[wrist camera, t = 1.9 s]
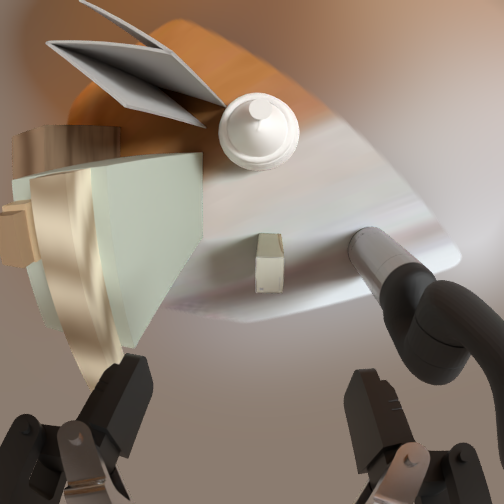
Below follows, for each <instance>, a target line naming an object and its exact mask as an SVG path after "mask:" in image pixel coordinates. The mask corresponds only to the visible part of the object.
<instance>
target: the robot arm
mask: <svg viewBox="0 0 504 504" xmlns="http://www.w3.org/2000/svg"><path fill="white" fill-rule="evenodd" d="M348 255H349V258H350V260H351V262H352V264H353V265H354V267H355V268H356V270H357V271H358V273H359V274H360V276H361V277H362V279H363V280H364V282H365V283H366V285H367V286H368V288H369V289H370V291H371V292H372V294H373V295H374V297H375V298H376V300H377V301H378V303H379V305H380V306H381V308H382V310H383V316H384V322H385V325H386V328H387V330H388V332H389V334H390V336H391V338H392V340H393V342H394V345H395V347H396V349H397V351H398V353H399V355H400V357H401V359H402V361H403V362H404V364H405V365H406V367H407V368H408V369H409V371H410V372H411V373H412V374H413V375H415V376H416V377H417V378H418V379H420V380H421V381H423V382H425V383H428V384H431V385H445V384H447V383H450V382H451V381H453V380H454V379H455V378H456V377H457V376H458V375H459V374H460V372H461V371H462V369H463V368H464V366H465V364H466V363H467V360H468V359H469V357H470V355H472V356H473V357H474V358H475V360H476V361H477V362H478V364H479V365H480V367H481V368H482V369H483V371H484V373H485V375H486V377H487V379H488V381H489V383H490V386H491V390H492V393H493V398H494V404H495V411H496V423H497V436H498V449H499V456H500V461H501V464H502V467H503V469H504V321H503V320H502V319H501V317H500V316H499V315H498V314H497V313H495V312H494V311H493V310H492V309H491V308H490V307H489V306H488V305H487V304H486V303H485V302H484V301H483V300H481V299H480V298H479V297H478V296H477V295H475V294H474V293H473V292H471V291H470V290H468V289H466V288H465V287H463V286H461V285H459V284H456V283H454V282H450V281H445V280H439V281H436V278H435V276H434V275H433V274H432V272H431V271H430V270H429V269H428V268H426V267H425V266H424V265H423V264H422V263H421V262H420V261H419V260H417V259H416V258H415V257H414V256H413V255H411V254H410V253H409V252H408V251H407V250H406V249H404V248H403V247H402V246H401V245H400V244H398V243H397V242H396V241H395V240H394V239H392V238H391V237H390V236H389V235H387V234H386V233H385V232H384V231H382V230H381V229H379V228H376V227H367V228H364V229H362V230H360V231H359V232H357V233H356V234H355V235H354V236H353V238H352V240H351V241H350V244H349V249H348ZM152 393H153V381H152V377H151V373H150V370H149V366H148V363H147V359H146V357H144V356H140V355H134V354H129V353H126V354H125V355H124V357H123V358H122V360H121V362H120V364H116V363H114V364H112V365H111V366H110V367H109V368H107V369H106V370H105V371H104V372H103V374H102V376H101V378H100V379H99V382H98V383H97V384H96V386H95V389H94V390H93V391H92V393H91V395H90V396H89V398H88V400H87V402H86V404H85V405H84V407H83V409H82V411H81V413H80V414H79V416H78V418H77V419H76V420H73V421H68V422H66V423H64V424H63V425H62V426H51V425H44V424H40V423H39V421H38V420H37V419H36V418H35V417H34V416H32V415H30V414H23V415H20V416H18V417H17V418H16V419H15V420H14V422H13V424H12V425H11V427H10V429H9V431H8V433H7V435H6V437H5V438H4V441H3V443H2V445H1V446H0V504H59V502H60V499H61V496H62V493H63V490H64V496H65V499H66V502H67V504H135V502H134V500H133V498H132V496H131V494H130V492H129V490H128V488H127V486H126V484H125V482H124V479H123V477H122V475H121V472H120V470H119V468H118V465H117V463H116V462H117V459H118V457H119V456H122V457H125V458H129V455H130V452H131V449H132V447H133V444H134V441H135V438H136V435H137V433H138V430H139V428H140V425H141V422H142V420H143V417H144V415H145V412H146V409H147V407H148V404H149V402H150V399H151V397H152ZM344 409H345V413H346V418H347V422H348V427H349V431H350V435H351V440H352V445H353V450H354V454H355V459H356V465H357V469H358V474H362V473H368V475H369V479H368V480H367V482H366V483H365V485H364V487H363V488H362V490H361V492H360V493H359V495H358V496H357V498H356V499H355V501H354V502H353V504H413V503H414V502H415V504H492V501H491V497H490V493H489V490H488V486H487V483H486V480H485V476H484V473H483V471H482V467H481V465H480V461H479V459H478V456H477V453H476V451H475V449H474V448H473V447H472V446H471V445H470V444H467V443H459V444H456V445H455V446H454V447H453V448H452V449H451V450H450V451H429V450H427V448H426V447H425V446H423V445H422V444H420V443H416V442H415V440H414V438H413V435H412V433H411V430H410V427H409V425H408V422H407V419H406V417H405V414H404V412H403V410H402V407H401V404H400V402H399V401H398V397H397V394H396V392H395V390H394V388H393V387H392V386H391V385H390V384H389V383H388V382H387V381H386V380H381V381H380V378H379V376H378V374H377V371H376V370H375V369H374V368H372V369H359V370H355V371H354V373H353V376H352V378H351V381H350V383H349V386H348V388H347V390H346V393H345V396H344ZM36 461H37V462H36ZM34 466H35V467H34ZM33 468H34V469H33ZM32 471H33V472H32ZM31 473H32V474H31ZM30 476H31V477H30ZM29 478H30V479H29ZM66 481H67V482H68V487H66V488H65V489H64V487H65V484H66Z"/></svg>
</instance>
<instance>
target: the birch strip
mask: <svg viewBox="0 0 504 504" xmlns="http://www.w3.org/2000/svg"><path fill="white" fill-rule="evenodd" d="M29 181H30V192H31V202H32V210H33V217H34V223H35V229H36V235H37V240H38V245H39V250H40V255H41V259H42V263H43V268H44V271H45V275H46V279H47V283H48V286H49V290H50V293H51V296H52V300H53V303H54V306H55V309H56V312H57V315H58V318H59V320H60V323H61V326H62V329H63V331H64V334H65V336H66V339H67V341H68V344H69V346H70V349H71V351H72V353H73V355H74V358H75V360H76V362H77V364H78V367H79V368H80V371H81V373H82V375H83V377H84V379H85V381H86V383H87V385H88V387H89V389H90V391H91V392H92V391H93V390H94V389H95V386H96V384H97V383H98V382H99V379H100V378H101V376H102V374H103V372H104V371H105V370H106V369H107V368H109V367H110V366H111V365H112V364H114V363H116V364H120V362H121V360H122V358H123V357H124V353H123V350H122V347H121V343H120V340H119V337H118V333H117V330H116V326H115V323H114V319H113V315H112V311H111V307H110V303H109V299H108V295H107V290H106V286H105V281H104V276H103V271H102V265H101V260H100V254H99V248H98V241H97V235H96V227H95V219H94V210H93V199H92V186H91V168H87V169H79V170H71V171H64V172H57V173H52V174H48V175H44V176H40V177H36V178H32V179H29Z"/></svg>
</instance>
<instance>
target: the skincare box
mask: <svg viewBox="0 0 504 504" xmlns="http://www.w3.org/2000/svg"><path fill="white" fill-rule="evenodd" d="M283 284H284V252H283V244H282V237H281V234H266V233H260V234H259V237H258V245H257V252H256V266H255V287H256V293H283Z"/></svg>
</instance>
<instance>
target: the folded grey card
mask: <svg viewBox="0 0 504 504" xmlns="http://www.w3.org/2000/svg"><path fill="white" fill-rule="evenodd" d="M79 1H80V2H81V3H83V4H85V5H86V6H88V7H90V8H92V9H93V10H95V11H96V12H98V13H99V14H101V15H102V16H104V17H105V18H107V19H108V20H110V21H112V22H113V23H115V24H116V25H117V26H119V27H120V28H122V29H123V30H125V31H126V32H128V33H129V34H131V35H132V36H133V37H135V38H136V39H137V40H139V41H140V42H142V43H143V44H144V45H146V46H147V47H145V46H138V45H131V44H122V43H112V42H98V41H73V40H72V41H70V40H66V41H65V40H64V41H47V42H46V44H47V45H48V46H49V47H51V48H52V49H53V50H55V51H56V52H57V53H58V54H60V55H61V56H62V57H64V58H65V59H66V60H67V61H69V62H70V63H71V64H73V65H74V66H75V67H76V68H77V69H79V70H80V71H81V72H82V73H84V74H85V75H86V76H88V77H89V78H90V79H91V80H92V81H94V82H95V83H96V84H97V85H99V86H100V87H101V88H102V89H104V90H105V91H106V92H107V93H108V94H110V95H111V96H112V97H113V98H114V99H116V100H117V101H118V102H119V103H121V104H122V105H123V106H124V107H125V108H130V109H134V110H139V111H143V112H147V113H151V114H155V115H159V116H163V117H167V118H171V119H175V120H178V121H182V122H185V123H189V124H192V125H195V126H199V127H202V128H205V129H206V128H207V127H206V126H205V125H203V124H202V123H201V122H200V121H199V120H197V119H196V118H195V117H194V116H193V115H191V114H190V113H189V112H188V111H186V110H185V109H184V108H183V107H182V106H180V105H179V104H178V103H177V102H175V101H174V100H173V99H172V98H170V97H169V96H168V95H167V94H165V93H164V92H163V91H161V90H160V89H159V88H158V87H160V88H163V89H167V90H171V91H175V92H178V93H182V94H185V95H189V96H192V97H195V98H198V99H202V100H205V101H208V102H211V103H214V104H217V105H220V106H223V107H225V108H226V107H227V106H226V105H225V104H224V103H223V102H222V101H221V99H220V98H219V97H218V96H217V95H216V94H215V93H214V92H213V91H212V90H211V89H210V88H209V87H208V86H207V85H206V84H205V83H204V82H203V81H202V80H201V79H200V78H199V76H198V75H197V74H196V73H195V72H194V71H193V70H192V69H191V68H190V67H189V66H188V65H186V64H185V63H184V62H183V61H182V60H181V59H180V58H179V57H178V56H177V55H176V54H175V53H174V52H173V51H172V50H170V49H169V48H167V47H166V46H164V45H163V44H161V43H160V42H158V41H156V40H155V39H153V38H152V37H150V36H149V35H147V34H145V33H143V32H142V31H140V30H139V29H137V28H135V27H134V26H132V25H130V24H128V23H127V22H125V21H123V20H121V19H120V18H118V17H116V16H114V15H112V14H110V13H109V12H107V11H105V10H103V9H101V8H99V7H97V6H95V5H93V4H91V3H89V2H86V1H84V0H79Z"/></svg>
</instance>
